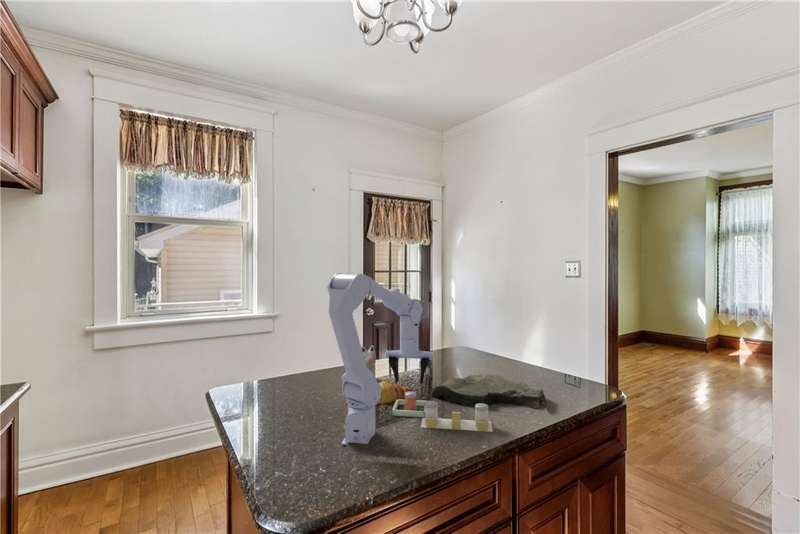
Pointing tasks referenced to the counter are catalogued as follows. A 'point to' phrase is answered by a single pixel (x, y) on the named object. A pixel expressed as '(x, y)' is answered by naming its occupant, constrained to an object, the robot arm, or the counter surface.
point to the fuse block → (457, 423)
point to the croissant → (391, 392)
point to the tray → (408, 412)
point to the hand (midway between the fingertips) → (409, 381)
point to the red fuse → (410, 401)
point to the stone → (489, 391)
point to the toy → (369, 358)
